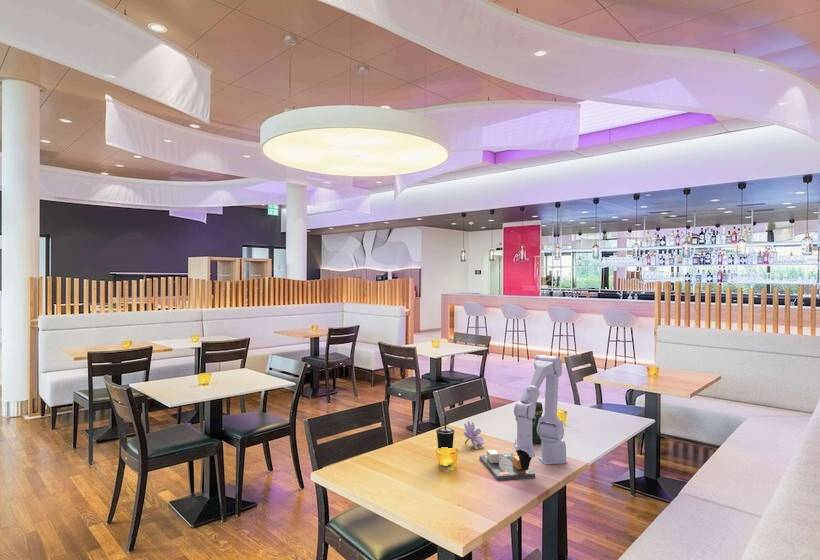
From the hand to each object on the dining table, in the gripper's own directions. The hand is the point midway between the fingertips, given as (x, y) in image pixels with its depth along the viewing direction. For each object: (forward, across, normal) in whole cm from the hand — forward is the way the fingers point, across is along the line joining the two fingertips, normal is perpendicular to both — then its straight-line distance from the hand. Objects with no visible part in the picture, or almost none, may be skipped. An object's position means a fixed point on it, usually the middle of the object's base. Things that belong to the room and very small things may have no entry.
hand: (524, 469), depth 183 cm
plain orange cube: (+1, -6, 0) cm, 6 cm away
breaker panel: (+3, -10, -4) cm, 11 cm away
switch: (+1, -14, -8) cm, 16 cm away
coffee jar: (+3, -38, +20) cm, 44 cm away
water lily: (+3, -37, -9) cm, 38 cm away
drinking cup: (+3, -18, -27) cm, 32 cm away
